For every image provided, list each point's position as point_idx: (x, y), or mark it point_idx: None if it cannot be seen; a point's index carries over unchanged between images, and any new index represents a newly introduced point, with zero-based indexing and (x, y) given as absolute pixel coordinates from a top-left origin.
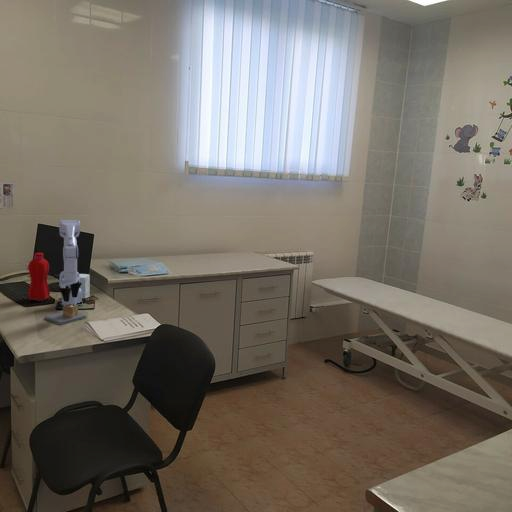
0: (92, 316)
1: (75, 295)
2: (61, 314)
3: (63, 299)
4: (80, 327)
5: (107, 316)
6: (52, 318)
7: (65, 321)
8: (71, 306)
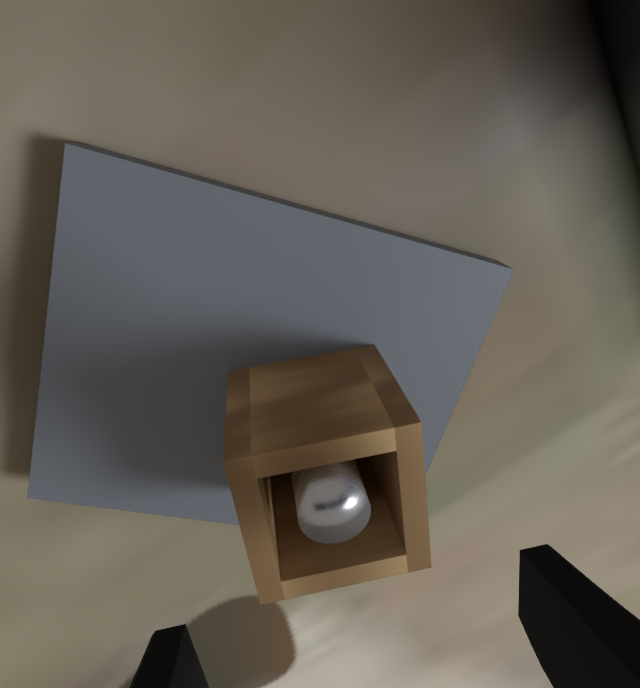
0: (463, 534)
1: (544, 646)
2: (292, 300)
3: (137, 671)
4: (115, 651)
5: (515, 620)
6: (71, 321)
7: (109, 502)
8: (318, 541)
